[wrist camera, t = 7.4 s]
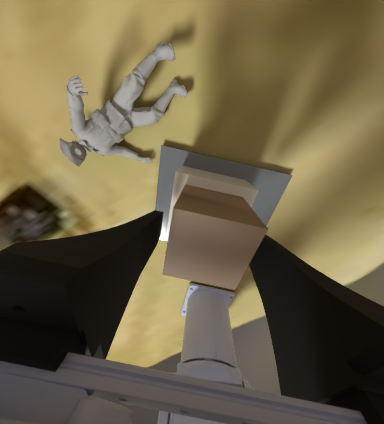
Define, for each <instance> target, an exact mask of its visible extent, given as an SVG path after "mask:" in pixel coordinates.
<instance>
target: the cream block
mask: <svg viewBox="0 0 384 424" xmlns="http://www.w3.org/2000/svg"><path fill="white" fill-rule="evenodd" d="M185 184H186V185H191V186H195V187H200V188H204V189H209V190H213V191H218V192H222V193H226V194H231V195H235V196H240V197H243V198H244V199H245V200H246V202H247V203H248V204H249V206H250V207H252V205H253V202H254V200H255V198H256V196H257V193H258V191H259V190H258V189H256V188H255V187H254V186H253V185H251V184H250V183H249V182H247V181H246V180H243V179H239V178H234V177H230V176H226V175H221V174H217V173H212V172H208V171H204V170H199V169H195V168H190V167H186V166H182V167H180V168H179V169H178V170H177V171H176V172H175V178H174V185H173V192H172V199H171V206H170V212H169V219H168V226H167V233H166V240H168V237H169V231H170V224H171V218H172V212H173V207H174V205H175V203H176V201H177V199H178V198H179V196H180V194H181V192H182V190H183V188H184V186H185Z"/></svg>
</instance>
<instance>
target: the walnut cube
mask: <svg viewBox="0 0 384 424" xmlns="http://www.w3.org/2000/svg"><path fill="white" fill-rule="evenodd" d="M267 230H268V228H267V227H266V226H265V224H264V223H263V222H262V221H261V219H260V218H259V217H258V216H257V214H256V213H255V212H254V211H253V209H252V208H251V207H250V206H249V204H248V203H247V202H246V200H245V199H244V198H243V197H240V196H235V195H231V194H226V193H222V192H218V191H213V190H209V189H204V188H200V187H195V186H191V185H186V184H185V186H184V188H183V190H182V192H181V194H180V196H179V198H178V199H177V201H176V203H175V205H174V207H173V212H172V218H171V224H170V231H169V237H168V243H167V250H166V256H165V262H164V269H163V275H167V276H172V277H176V278H181V279H186V280H190V281H195V282H200V283H204V284H209V285H214V286H218V287H223V288H228V289H232V290H235V289H236V287H237V286H238V284H239V282H240V280H241V278H242V276H243V275H244V273H245V271H246V269H247V267H248V265H249V264H250V262H251V260H252V258H253V256H254V254H255V252H256V251H257V249H258V247H259V245H260V243H261V241H262V240H263V238H264V236H265V234H266V232H267Z"/></svg>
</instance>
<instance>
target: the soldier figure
mask: <svg viewBox="0 0 384 424" xmlns="http://www.w3.org/2000/svg"><path fill="white" fill-rule="evenodd" d="M174 59H175V53H174V50H173V47H172V45H171V44H170V43H168V45H164V43H163V42H160V44H158V45H157V47H156V49H155V51H153V52H152V53H151V54H149V55H148V56H147V57H146V58H145V59H144V60H143V61H142V62H140V63H139V64H138V65H137V67H136V68H135V69H134V70H133V71H132V73H131V74H130V75H128V76H126V77H125V78H124V80H123V83H122V86H121V87H120V88H119V90H118V91H117V93H116V94H115V96H114V98H113V100H112V99H109V100H108V101H107V102H106V104H105V105H104V106H103V108H102V109H101V110H99V109H96V110H95V111H94V112H93V113H92V114H91V117H92V119H89V120H86V121H85V115H84V111H83V110H84V104H83V101H82V98H81V96H80V95H87V94H88V92H82V91H81V90H84V87H77V86H81V85H82V82H80V81H81V79H78V78H79V76H74V77H72V78H70V79H69V83H68V85H67V95H68V105H69V109H70V116H71V118H70V120H71V128H72V129H71V131H72V132H73V133H74V134H75V135H76V136H77V137H78V138H79V142H76V140H75V141H72V142H71V143H69V142H66V141H64V140H63V139H61V138H60V139H59V140H60V147H61V150H62V152H63V154H64V155H65V156H66V157H67V159H68V160H69V161H70V162H72V163H74V164H75V165H77V166H80V165H81V163H82V162H83V161H84V160H85V158H86V150H85V148H86V149H87V150H88V151H89V152H97V153H99V154H101V155H102V156H104V155H124V156H127V157H130V158H133V159H136V160H139V161H143V162H146V163H151V162H153V161H152V159H149V158H150V157H148V158H145V157H140V155H139V154H138V153H136V152H134V151H132V150H130V149H128V148H125V147H123V146H117V145H114V144H115V143H116V142H117V143H119V142H121V141H122V140H123V139H124V136H125V135H126V134H127V133H128V132H129V131H131V130H132V128H133V127H136V126H147V125H151V124H154V123H156V122H158V121H159V119H160V118H162V116H164V112H165V110H166V108H167V106H168V104H169V102H170V101H171V99H172V97H173V95H174V94H176V95H181V96H182V97H184V98H186V97H187V91H186V88H185V87H184V85H181V86H180V85H179V84H178V82H177V81H176V80H175V79H174V80H173V81H172V82H171V83H170V85H169V88H168V89H167V90H166V91H165V93H164V94H163V95H162V96H161V98H160V99H159V100H158V101H157V102H156V103H155V105H154V106H152V108H151V107H139V108H137V107H133V106H134V102H135V100H136V99H137V98H138V97H139V96H140V94H141V93H142V91H143V89H144V84H146V80H147V79H148V77H149V76H150V74H151V73H152V71H153V69H154V67H155V65H156V64H157V63H158V61H161V60H169V61H173V60H174ZM76 82H79V83H76ZM83 146H84V147H85V148H84V147H83ZM147 159H149V160H147Z"/></svg>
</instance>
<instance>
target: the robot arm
mask: <svg viewBox="0 0 384 424" xmlns="http://www.w3.org/2000/svg"><path fill="white" fill-rule="evenodd" d="M163 214H164V212H161V211H157V210H155V211H153V212H151V213H148V214H146V215H144V216H142V217H140V218H138V219H135V220H133V221H130V222H128V223H125V224H122V225H119V226H116V227H113V228H110V229H106V230H102V231H98V232H93V233H89V234H84V235H78V236H73V237H66V238H59V239H52V240H42V241H32V242H22V243H15V244H13V245H11V246H9V247H7V248H5V249H3V250H1V251H0V424H132V423H131V418H132V411H131V409H128V408H125V407H123V406H120V405H117V404H114V403H112V402H109V401H114V402H119V403H124V404H129V405H134V406H139V407H145V408H149V409H154V410H159V417H158V423H157V424H384V306H381V305H379V304H377V303H375V302H373V301H371V300H369V299H367V298H365V297H364V296H362V295H360V294H358V293H356V292H354V291H352V290H350V289H349V288H347V287H345V286H343V285H341V284H339V283H338V282H336V281H334V280H332V279H331V278H329V277H327V276H326V275H324V274H323V273H321V272H319V271H318V270H316V269H314V268H313V267H311V266H310V265H308V264H307V263H305V262H304V261H303V260H301V259H300V258H298V257H297V256H295V255H294V254H293V253H291V252H290V251H288V250H287V249H286V248H284V247H283V246H282V245H280V244H279V243H277V242H276V241H275V240H273V239H272V238H270V237H269V236H267V235H265V236H264V238H263V240H262V241H261V243H260V245H259V247H258V249H257V251H256V252H255V254H254V256H253V258H252V260H251V262H250V264H249V266H250V269H251V271H252V274H253V277H254V280H255V282H256V285H257V288H258V290H259V293H260V296H261V299H262V302H263V306H264V309H265V313H266V317H267V321H268V325H269V330H270V334H271V338H272V344H273V349H274V354H275V359H276V365H277V371H278V377H279V383H280V390H281V395H277V394H272V393H267V392H262V391H257V390H253V389H252V388H251V386H250V385H249V383H248V382H247V380H242V377H241V371H240V369H238V368H237V364H236V358H235V351H234V344H233V338H232V331H231V324H230V318H229V311H228V308H229V306H230V304H231V302H232V300H233V299H234V297H235V293H234V292H231V291H226V290H222V289H217V288H212V287H208V286H203V285H198V284H194V283H191V284H190V285H189V288H188V291H187V295H186V298H185V301H184V304H183V308H182V311H181V315H182V316H186V318H185V327H184V337H183V346H182V355H181V363H178V367H177V373H168V372H163V371H159V370H154V369H149V368H144V367H139V366H134V365H130V364H125V363H120V362H115V361H110V360H105V359H106V357H107V354H108V351H109V349H110V346H111V344H112V341H113V339H114V336H115V333H116V331H117V328H118V326H119V323H120V321H121V319H122V316H123V314H124V311H125V309H126V306H127V304H128V302H129V299H130V297H131V294H132V292H133V290H134V288H135V285H136V283H137V281H138V278H139V276H140V274H141V272H142V270H143V269H144V267H145V265H146V263H147V261H148V260H149V258H150V256H151V254H152V253H153V251H154V249H155V247H156V245H157V243H158V240H159V238H160V235H161V229H162V222H163ZM107 400H109V401H107Z"/></svg>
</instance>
